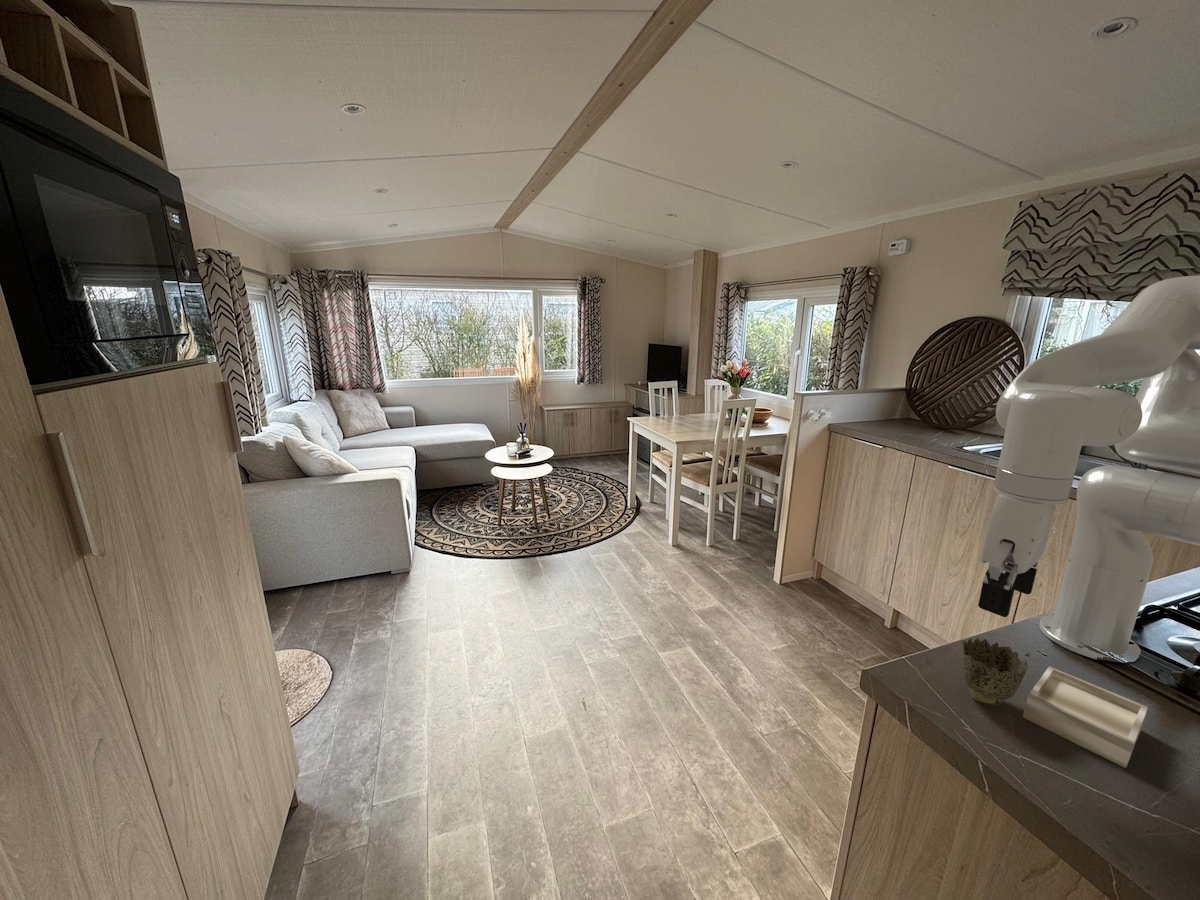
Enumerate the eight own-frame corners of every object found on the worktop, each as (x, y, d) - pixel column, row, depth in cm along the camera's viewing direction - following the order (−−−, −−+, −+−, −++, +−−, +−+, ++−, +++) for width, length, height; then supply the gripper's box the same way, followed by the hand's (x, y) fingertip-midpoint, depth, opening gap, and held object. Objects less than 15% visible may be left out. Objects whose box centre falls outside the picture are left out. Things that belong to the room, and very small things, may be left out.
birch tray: (1044, 686, 74) (1049, 665, 73) (1140, 729, 66) (1148, 707, 65) (1022, 717, 69) (1028, 695, 68) (1125, 768, 61) (1133, 744, 60)
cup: (1028, 722, 68) (1041, 674, 66) (969, 715, 69) (979, 667, 67) (997, 685, 75) (1008, 640, 73) (944, 679, 76) (953, 635, 74)
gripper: (1016, 467, 71) (993, 572, 75) (972, 489, 62) (949, 608, 66) (1086, 480, 65) (1057, 593, 70) (1050, 506, 56) (1018, 635, 60)
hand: (1005, 600), depth 68 cm, fingers open, 9 cm apart
